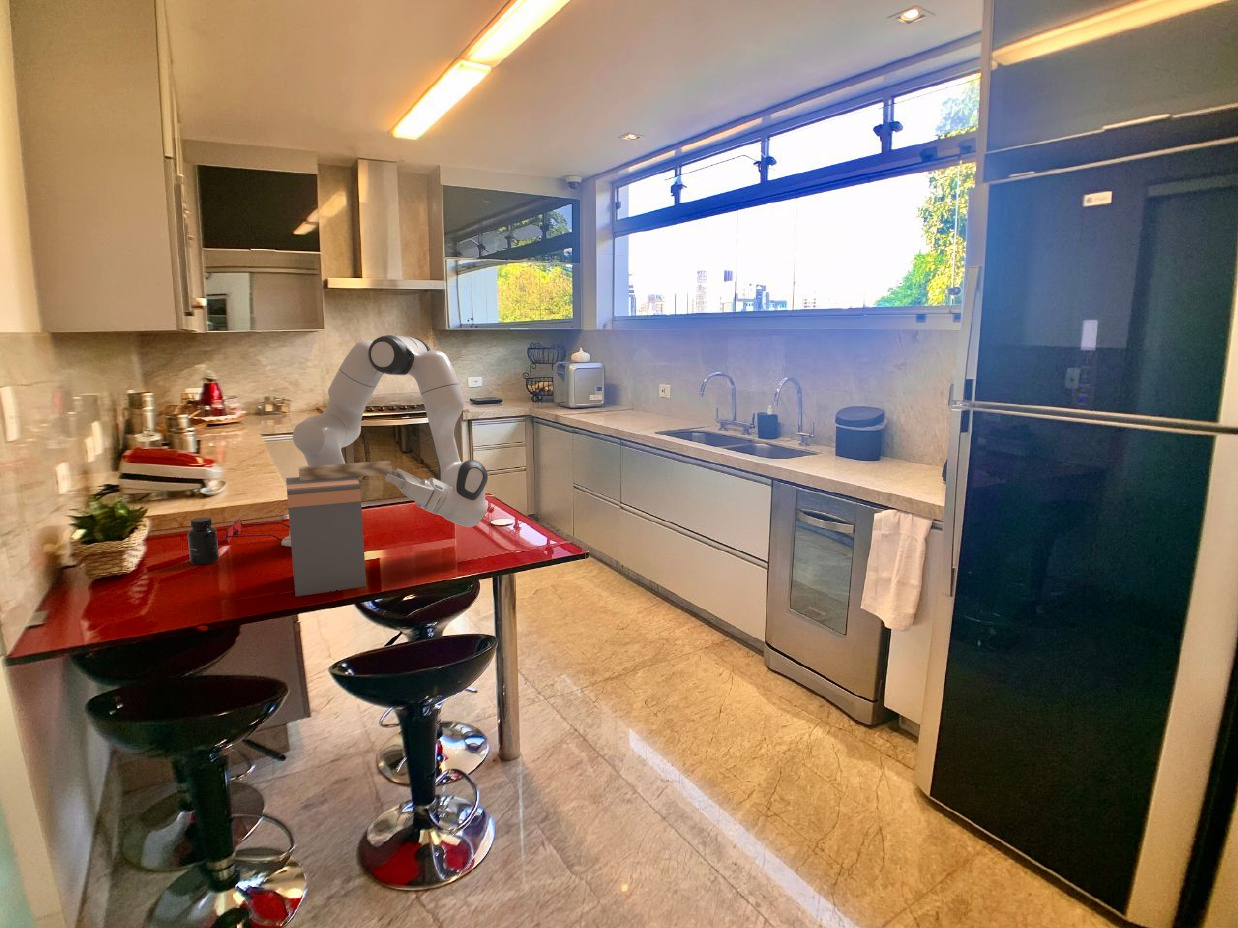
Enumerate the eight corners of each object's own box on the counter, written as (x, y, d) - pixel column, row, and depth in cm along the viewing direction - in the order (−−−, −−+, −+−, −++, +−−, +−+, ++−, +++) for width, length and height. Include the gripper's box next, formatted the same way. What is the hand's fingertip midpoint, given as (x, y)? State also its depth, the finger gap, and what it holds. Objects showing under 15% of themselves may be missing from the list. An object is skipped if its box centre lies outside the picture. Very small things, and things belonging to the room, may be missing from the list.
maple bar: (390, 471, 180) (389, 460, 180) (392, 473, 178) (391, 462, 177) (299, 478, 171) (298, 466, 170) (299, 480, 168) (298, 468, 168)
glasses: (238, 532, 215) (237, 517, 214) (294, 529, 218) (293, 514, 217) (223, 545, 201) (222, 529, 200) (283, 542, 205) (282, 526, 204)
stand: (359, 567, 183) (353, 472, 178) (366, 586, 169) (360, 484, 164) (293, 575, 176) (285, 477, 171) (295, 596, 162) (286, 490, 157)
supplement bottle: (186, 566, 182) (181, 523, 180) (195, 558, 188) (190, 516, 186) (215, 564, 184) (210, 521, 182) (222, 556, 190) (218, 515, 188)
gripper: (428, 476, 194) (383, 455, 188) (443, 491, 176) (394, 469, 170) (417, 496, 194) (372, 475, 187) (432, 513, 176) (382, 491, 169)
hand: (383, 472), depth 178 cm, fingers open, 8 cm apart
